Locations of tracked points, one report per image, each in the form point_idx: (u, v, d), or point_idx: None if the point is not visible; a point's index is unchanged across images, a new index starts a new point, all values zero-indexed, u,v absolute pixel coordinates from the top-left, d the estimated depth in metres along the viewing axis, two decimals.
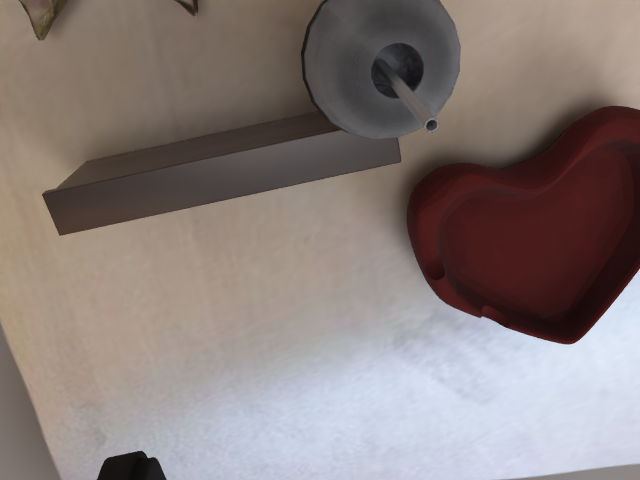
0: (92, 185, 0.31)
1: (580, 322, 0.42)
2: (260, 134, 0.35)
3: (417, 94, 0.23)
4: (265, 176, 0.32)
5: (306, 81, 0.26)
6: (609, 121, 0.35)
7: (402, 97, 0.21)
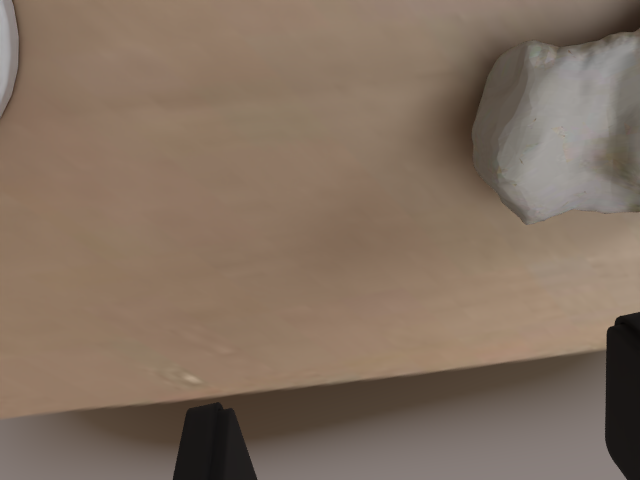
0: None
1: None
2: None
3: None
4: None
5: None
6: None
7: None
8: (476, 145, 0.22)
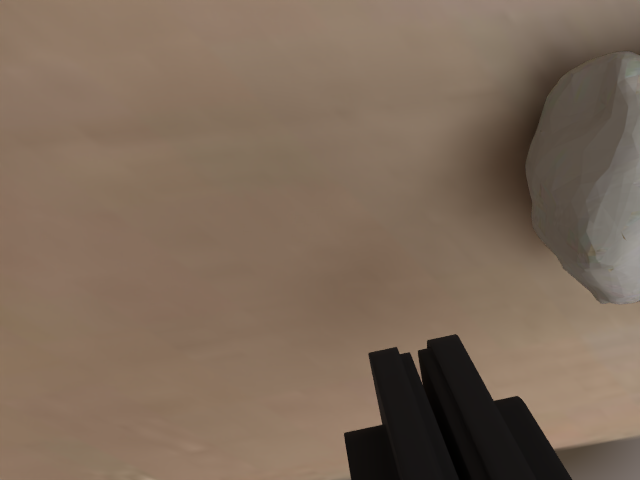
0: None
1: None
2: None
3: None
4: None
5: None
6: None
7: None
8: (541, 201, 0.15)
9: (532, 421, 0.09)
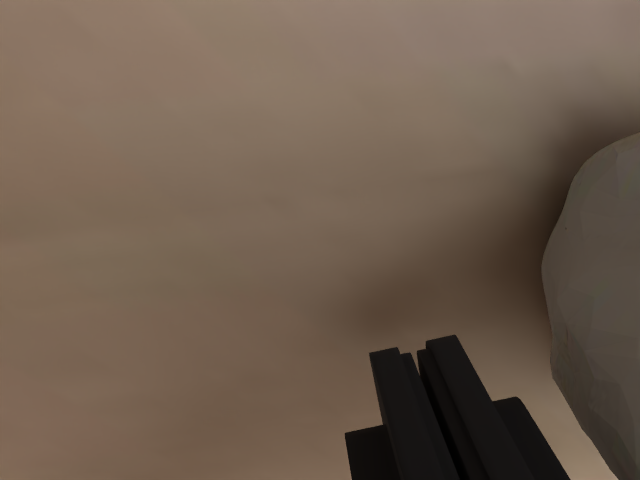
0: None
1: None
2: None
3: None
4: None
5: None
6: None
7: None
8: (567, 354, 0.10)
9: (531, 422, 0.09)
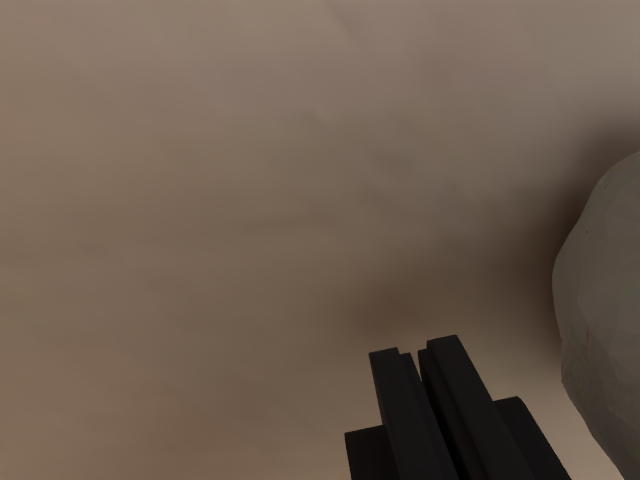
0: None
1: None
2: None
3: None
4: None
5: None
6: None
7: None
8: (585, 356, 0.10)
9: (531, 421, 0.09)
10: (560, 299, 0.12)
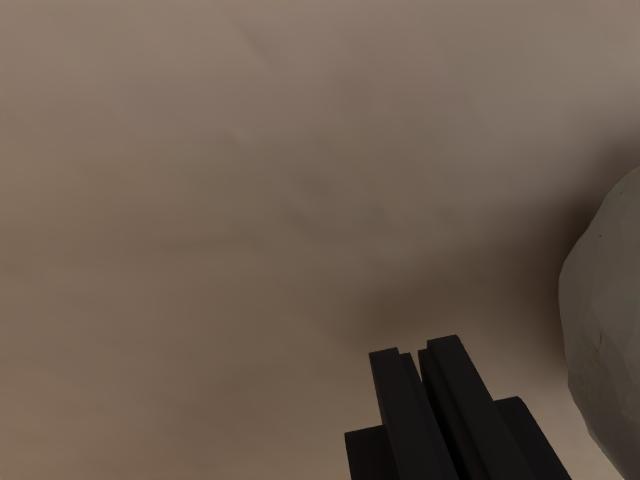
0: None
1: None
2: None
3: None
4: None
5: None
6: None
7: None
8: (597, 359, 0.09)
9: (532, 421, 0.09)
10: (568, 303, 0.12)
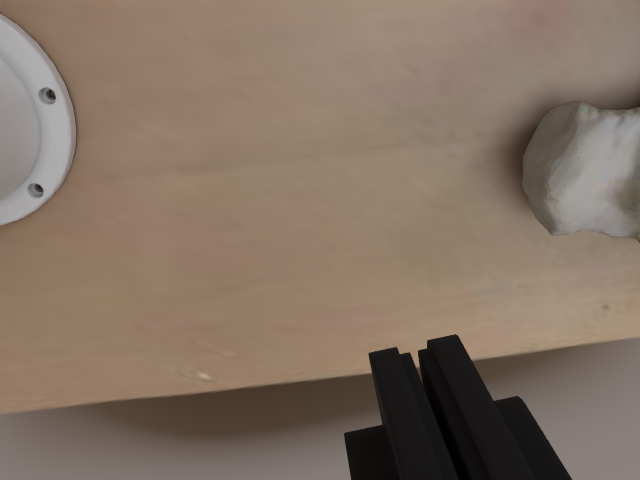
0: None
1: None
2: None
3: None
4: None
5: None
6: None
7: None
8: (529, 170, 0.30)
9: (532, 421, 0.09)
10: (524, 163, 0.32)
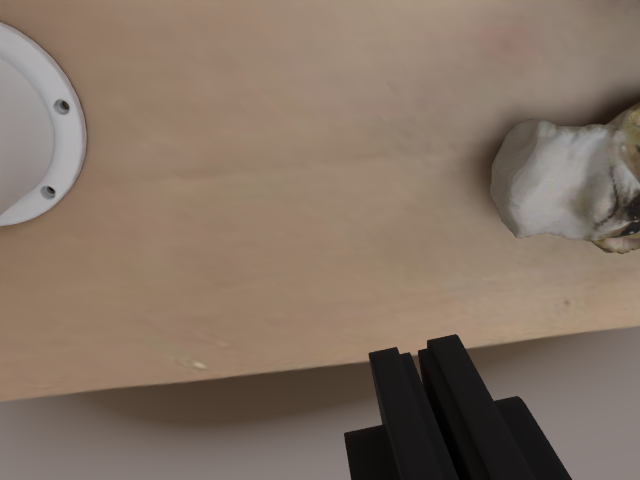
0: None
1: None
2: None
3: None
4: None
5: None
6: None
7: None
8: (495, 179, 0.33)
9: (532, 421, 0.09)
10: (492, 172, 0.36)
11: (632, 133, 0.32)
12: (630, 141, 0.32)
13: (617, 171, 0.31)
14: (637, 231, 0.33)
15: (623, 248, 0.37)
